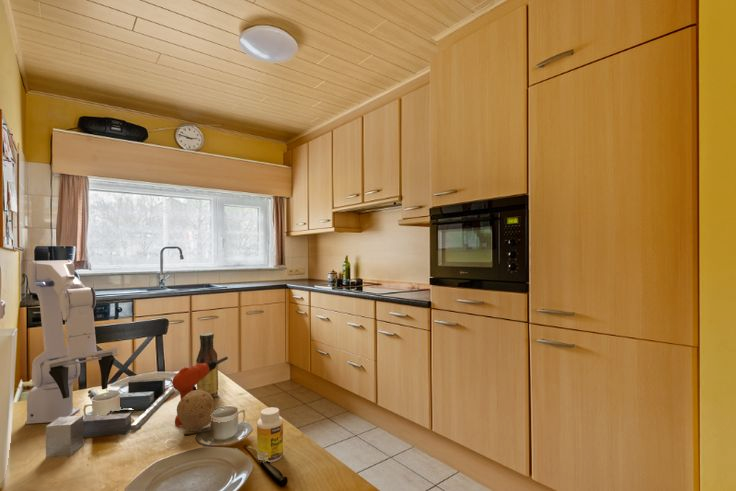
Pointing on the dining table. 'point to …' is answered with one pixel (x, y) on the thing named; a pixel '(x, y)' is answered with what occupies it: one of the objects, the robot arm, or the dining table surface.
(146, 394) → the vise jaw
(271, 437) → the supplement bottle
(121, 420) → the vise base
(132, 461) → the dining table surface
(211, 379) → the sauce bottle
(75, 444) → the steel block
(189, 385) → the toy drill
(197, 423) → the natural sponge
